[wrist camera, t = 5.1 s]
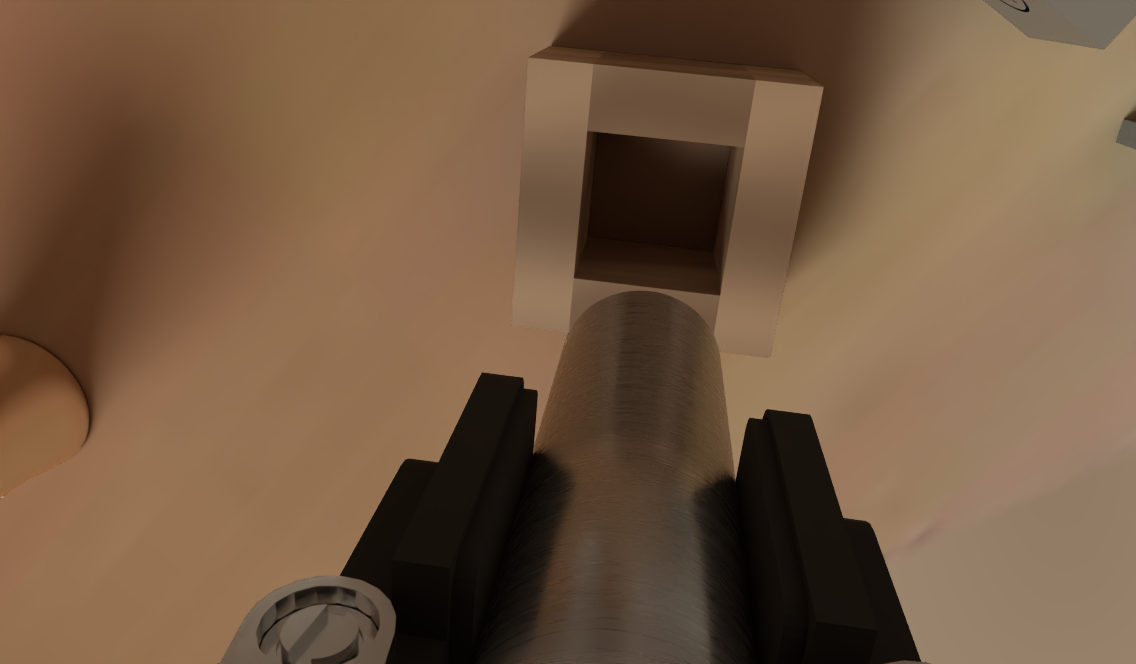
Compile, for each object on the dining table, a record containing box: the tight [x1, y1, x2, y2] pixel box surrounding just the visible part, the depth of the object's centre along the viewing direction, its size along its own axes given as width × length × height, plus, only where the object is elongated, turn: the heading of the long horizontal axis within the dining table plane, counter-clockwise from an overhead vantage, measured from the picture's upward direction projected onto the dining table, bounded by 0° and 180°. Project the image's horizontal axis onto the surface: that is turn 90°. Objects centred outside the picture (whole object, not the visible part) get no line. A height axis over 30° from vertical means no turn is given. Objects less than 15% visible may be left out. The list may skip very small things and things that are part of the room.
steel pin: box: [472, 290, 758, 664], centre depth 9 cm, size 3×3×13 cm
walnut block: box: [511, 46, 824, 358], centre depth 26 cm, size 8×8×4 cm
